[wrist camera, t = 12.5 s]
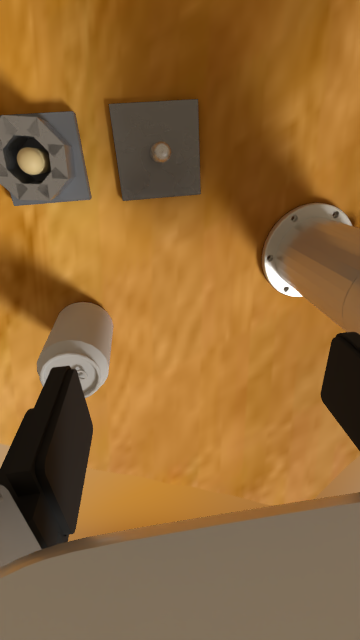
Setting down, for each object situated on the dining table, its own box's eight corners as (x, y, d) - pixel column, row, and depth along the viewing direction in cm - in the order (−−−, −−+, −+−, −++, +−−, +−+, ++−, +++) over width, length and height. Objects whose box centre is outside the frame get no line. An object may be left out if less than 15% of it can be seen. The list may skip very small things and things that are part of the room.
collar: (31, 104, 28) (16, 95, 24) (88, 162, 31) (82, 162, 27) (-9, 158, 30) (-30, 158, 26) (48, 208, 33) (37, 215, 29)
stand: (196, 100, 31) (209, 88, 26) (199, 193, 36) (210, 199, 30) (109, 105, 30) (104, 94, 25) (123, 199, 35) (121, 207, 29)
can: (47, 309, 40) (17, 363, 29) (101, 292, 40) (90, 339, 29) (72, 352, 43) (53, 414, 33) (121, 337, 43) (118, 394, 33)
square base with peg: (75, 113, 30) (62, 102, 25) (91, 197, 34) (83, 205, 28) (-8, 118, 29) (-41, 108, 24) (18, 204, 33) (-5, 213, 28)
